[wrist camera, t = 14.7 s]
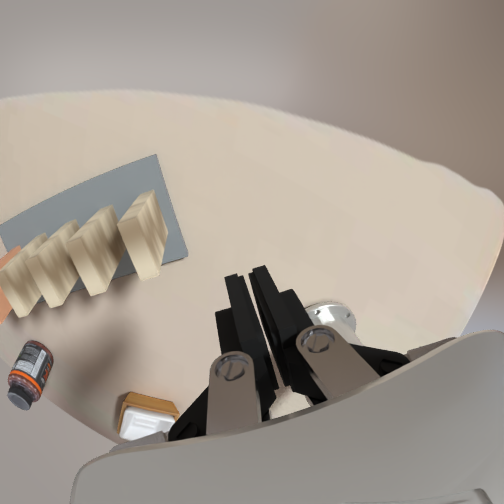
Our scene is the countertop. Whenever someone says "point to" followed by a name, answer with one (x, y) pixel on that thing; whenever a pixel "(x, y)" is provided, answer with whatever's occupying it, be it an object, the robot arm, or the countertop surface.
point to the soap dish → (145, 416)
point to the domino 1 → (3, 307)
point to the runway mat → (92, 200)
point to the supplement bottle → (29, 374)
